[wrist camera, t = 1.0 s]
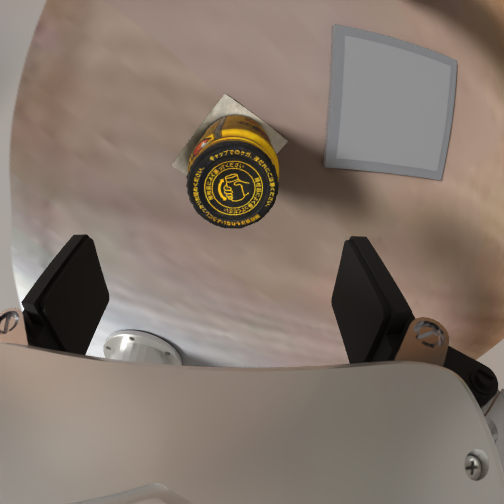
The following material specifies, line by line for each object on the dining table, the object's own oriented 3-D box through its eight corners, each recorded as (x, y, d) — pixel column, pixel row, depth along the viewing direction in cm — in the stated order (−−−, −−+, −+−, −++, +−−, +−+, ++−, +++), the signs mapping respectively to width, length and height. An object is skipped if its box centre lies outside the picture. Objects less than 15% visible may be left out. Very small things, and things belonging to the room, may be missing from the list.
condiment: (288, 140, 26) (318, 181, 16) (232, 205, 30) (228, 279, 20) (225, 93, 24) (212, 99, 14) (172, 164, 27) (131, 219, 17)
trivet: (437, 177, 28) (441, 180, 27) (323, 165, 27) (325, 167, 27) (452, 60, 21) (457, 60, 20) (332, 25, 20) (335, 24, 19)
